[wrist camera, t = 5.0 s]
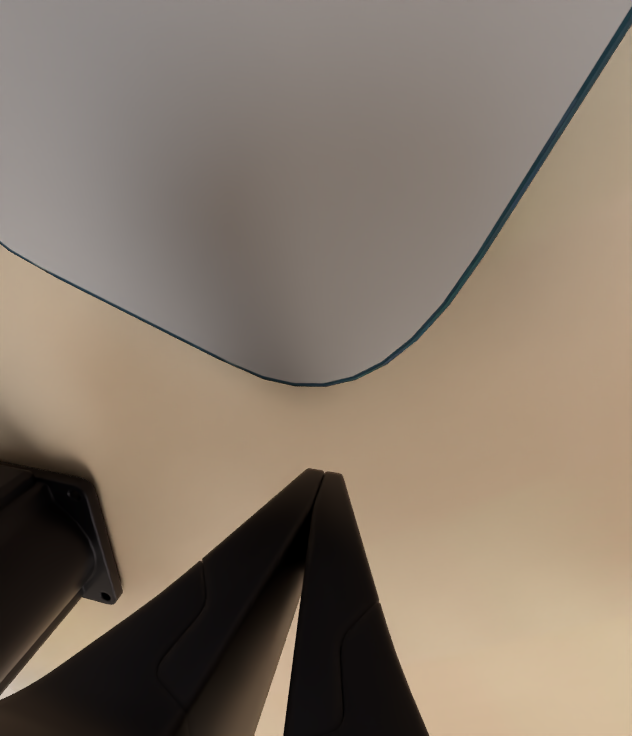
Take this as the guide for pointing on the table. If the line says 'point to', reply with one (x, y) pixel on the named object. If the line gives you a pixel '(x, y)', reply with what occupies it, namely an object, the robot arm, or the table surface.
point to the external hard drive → (283, 159)
